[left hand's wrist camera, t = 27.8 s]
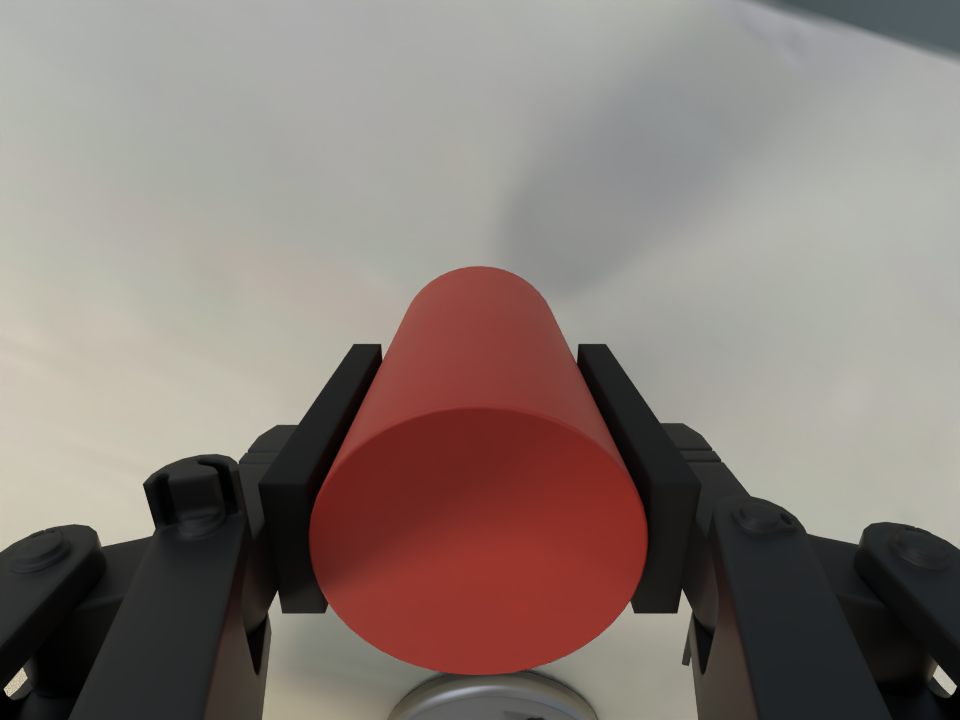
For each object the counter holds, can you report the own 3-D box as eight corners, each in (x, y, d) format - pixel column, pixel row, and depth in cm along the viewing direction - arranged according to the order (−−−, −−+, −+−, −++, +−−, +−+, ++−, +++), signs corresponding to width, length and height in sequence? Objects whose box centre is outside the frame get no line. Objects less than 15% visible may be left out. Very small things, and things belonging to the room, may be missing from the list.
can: (587, 361, 18) (709, 588, 8) (462, 439, 19) (444, 717, 10) (498, 232, 16) (525, 332, 7) (368, 326, 17) (234, 526, 8)
